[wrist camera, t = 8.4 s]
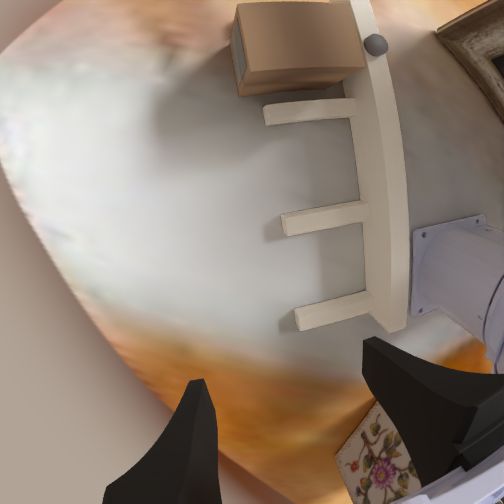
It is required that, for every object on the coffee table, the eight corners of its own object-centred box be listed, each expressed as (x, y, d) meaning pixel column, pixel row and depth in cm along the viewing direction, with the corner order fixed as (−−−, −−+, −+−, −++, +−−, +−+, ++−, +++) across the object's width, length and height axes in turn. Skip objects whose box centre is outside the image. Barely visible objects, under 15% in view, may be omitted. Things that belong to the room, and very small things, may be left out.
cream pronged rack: (341, 8, 17) (368, -17, 12) (381, 305, 24) (410, 331, 20) (242, 9, 16) (250, -24, 12) (296, 328, 23) (313, 363, 19)
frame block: (314, 39, 17) (348, 4, 12) (325, 89, 19) (365, 67, 13) (228, 44, 17) (236, 4, 11) (238, 97, 18) (249, 71, 12)
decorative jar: (397, 452, 32) (451, 544, 15) (330, 457, 30) (380, 577, 13) (447, 388, 30) (527, 480, 12) (383, 385, 27) (475, 518, 10)
